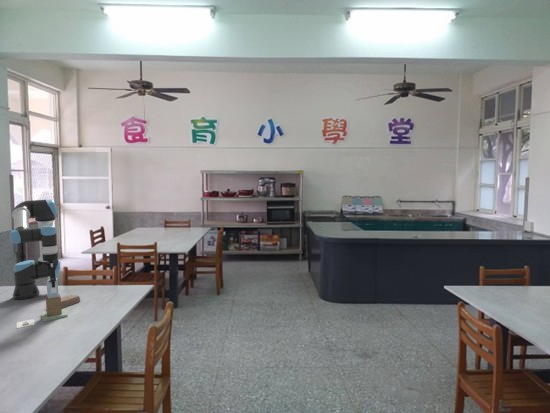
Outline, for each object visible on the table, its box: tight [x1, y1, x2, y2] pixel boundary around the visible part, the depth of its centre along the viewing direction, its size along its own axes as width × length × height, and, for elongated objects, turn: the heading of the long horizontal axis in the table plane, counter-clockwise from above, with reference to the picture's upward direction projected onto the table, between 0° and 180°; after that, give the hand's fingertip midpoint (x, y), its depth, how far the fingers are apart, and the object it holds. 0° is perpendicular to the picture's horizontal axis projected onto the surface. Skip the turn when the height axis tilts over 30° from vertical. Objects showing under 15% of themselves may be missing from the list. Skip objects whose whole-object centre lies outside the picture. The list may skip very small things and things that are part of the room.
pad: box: [40, 308, 68, 322], centre depth 221 cm, size 12×12×1 cm
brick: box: [61, 294, 81, 309], centre depth 240 cm, size 17×8×5 cm, turn 155°
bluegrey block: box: [45, 277, 60, 299], centre depth 220 cm, size 5×5×10 cm
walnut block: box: [45, 293, 63, 317], centre depth 221 cm, size 7×7×10 cm
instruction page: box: [16, 318, 35, 329], centre depth 210 cm, size 10×8×1 cm
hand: (52, 290), depth 220 cm, fingers open, 13 cm apart
